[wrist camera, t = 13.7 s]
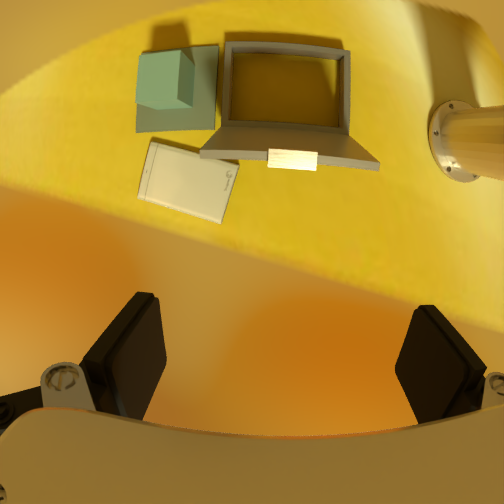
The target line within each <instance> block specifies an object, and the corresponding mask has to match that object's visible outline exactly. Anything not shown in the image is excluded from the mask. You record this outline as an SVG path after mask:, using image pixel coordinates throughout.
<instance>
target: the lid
mask: <svg viewBox="0 0 504 504" xmlns="http://www.w3.org/2000/svg"><path fill="white" fill-rule="evenodd" d="M200 159H243V160H266V161H268V167H274V168H290V169H303V170H315V171H316V165H317V164H321V165H332V166H341V167H350V168H358V169H366V170H373V171H379V166H380V162H379V161H378V160H377V159H375V158H374V157H373V156H372V155H371V154H370V153H369V152H368V151H367V150H365V149H364V148H363V147H362V146H361V145H360V144H359V143H357V142H356V141H355V140H354V139H353V138H352V137H350V136H349V135H343V134H335V133H326V132H316V131H306V130H294V129H280V128H261V127H220V128H219V129H218V130H217V131H216V132H215V134H214V135H213V136H212V137H211V138H210V139H209V140H208V141H207V142H206V143H205V144H204V146H203V147H202V148H201V149H200Z"/></svg>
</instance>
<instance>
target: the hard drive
mask: <svg viewBox="0 0 504 504" xmlns="http://www.w3.org/2000/svg"><path fill="white" fill-rule="evenodd" d="M239 166H240V165H237V164H234V163H230V162H227V161H224V160H220V159H200V154H199V153H196V152H192V151H188V150H185V149H181V148H177V147H173V146H169V145H165V144H161V143H157V142H151V144H150V147H149V150H148V154H147V158H146V162H145V166H144V170H143V174H142V179H141V183H140V188H139V192H138V199H141V200H145V201H148V202H151V203H154V204H158V205H161V206H164V207H167V208H170V209H174V210H177V211H180V212H183V213H186V214H190V215H193V216H196V217H199V218H202V219H205V220H208V221H212V222H215V223H218V224H221V223H222V221H223V217H224V214H225V211H226V208H227V204H228V201H229V198H230V195H231V191H232V188H233V185H234V182H235V179H236V176H237V172H238V169H239Z"/></svg>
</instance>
